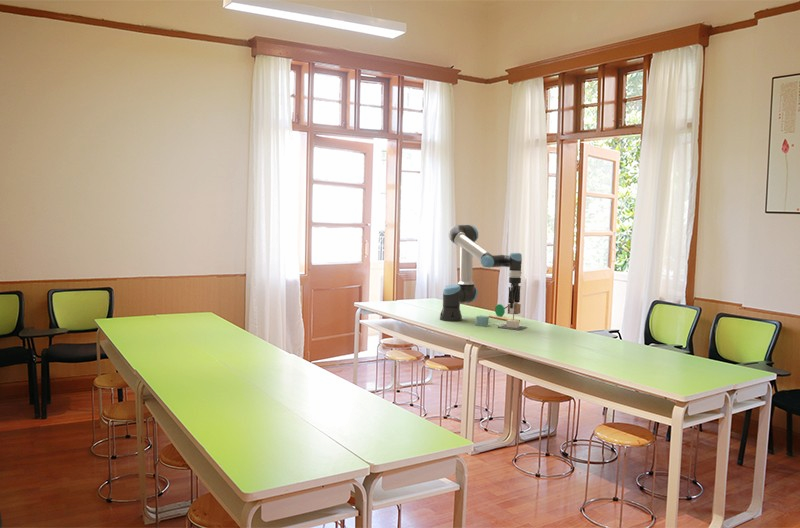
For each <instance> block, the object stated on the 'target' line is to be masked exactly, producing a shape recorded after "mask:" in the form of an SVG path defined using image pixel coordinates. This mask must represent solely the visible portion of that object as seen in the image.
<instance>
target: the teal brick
mask: <svg viewBox="0 0 800 528" xmlns="http://www.w3.org/2000/svg"><path fill="white" fill-rule="evenodd" d="M475 318H476V319H475V320H476V321H475V325H476V326H477V327H487V326H489V323H490V322H489V321H490V320H489V319H490V318H489V315H476V317H475Z"/></svg>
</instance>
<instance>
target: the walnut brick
mask: <svg viewBox="0 0 800 528" xmlns="http://www.w3.org/2000/svg"><path fill="white" fill-rule="evenodd" d="M507 306H508V307H507V314H509V315H513V314H512V313H510V303H508V304H507ZM521 308H522V307H521V303H518V304H514V315H520V314H521Z"/></svg>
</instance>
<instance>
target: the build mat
mask: <svg viewBox="0 0 800 528" xmlns="http://www.w3.org/2000/svg"><path fill="white" fill-rule="evenodd" d="M520 323H521V320H520V321H516V320H507V321H506V324H507V325H503V326H502V325H499V326H498V329H505V330H512V331H513V330H514V331H521V330H524V329H526V328H528V326H523V325H521V324H520Z"/></svg>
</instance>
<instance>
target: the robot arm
mask: <svg viewBox="0 0 800 528" xmlns="http://www.w3.org/2000/svg"><path fill="white" fill-rule="evenodd" d="M448 238H449V240H450V241H451V242H452V243H453V244H455V245H457V246H459V281H458V282H457V284H449V285H448V284H447V285H445V286H444V287H443V290H442V309H441V312H440V314H439V320H442V321H445V322H446V321H447V322H458V321H459V322H460V321H462V320H463V316H462V312H461V307H460V305H461V304H469V303H473V302H474V301H475V300H477V297H478V296H479V292H478V291H479V290H478V289H477V287H476V286H475V282H474V281H473V257H475V258H476V259H477V260H478V261H480V264H481V266H482V267H483V268H487V269H488V268H501V267H502V268H509V270H508V271H509V272H508V276H509V278H508V283H509V284H510V286H509V287H508V298H507V299H508V304H510V313H512V314H511V315H513V314H514V304H519V303H520V302H521V301H520V300H521V287H522V285H520V284H521V282H522V281H521V280H522V273H523V272H522V261H523V257H522V253H520V252H510V253H509V255H507V254H497V255H496V254H495V255H493V254H491V253H490V252H488V251H487V250H485V249H484V248H483V247H481V246H480V245H478V244H477V243H476V241H477V240H478V239H479V232H478V229H477V228H476V227H475V225H471V224H455V225H453V226H451V227H450V228H449V230H448ZM514 300H515V302H514ZM514 315H515V314H514Z"/></svg>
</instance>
